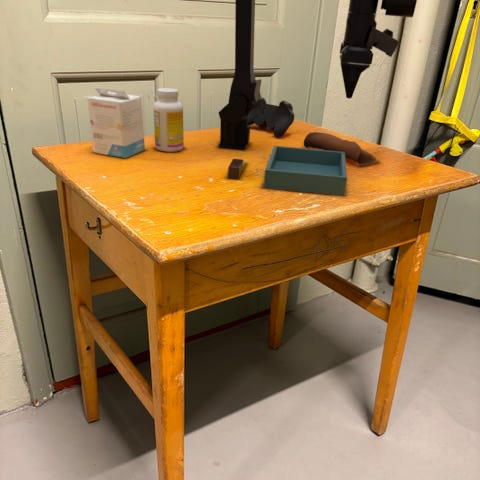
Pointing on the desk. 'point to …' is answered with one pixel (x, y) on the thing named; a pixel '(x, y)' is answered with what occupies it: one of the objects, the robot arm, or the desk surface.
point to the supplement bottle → (168, 121)
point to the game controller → (272, 116)
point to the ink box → (116, 123)
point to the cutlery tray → (306, 170)
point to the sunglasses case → (339, 147)
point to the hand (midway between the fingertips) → (348, 94)
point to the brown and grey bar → (235, 168)
